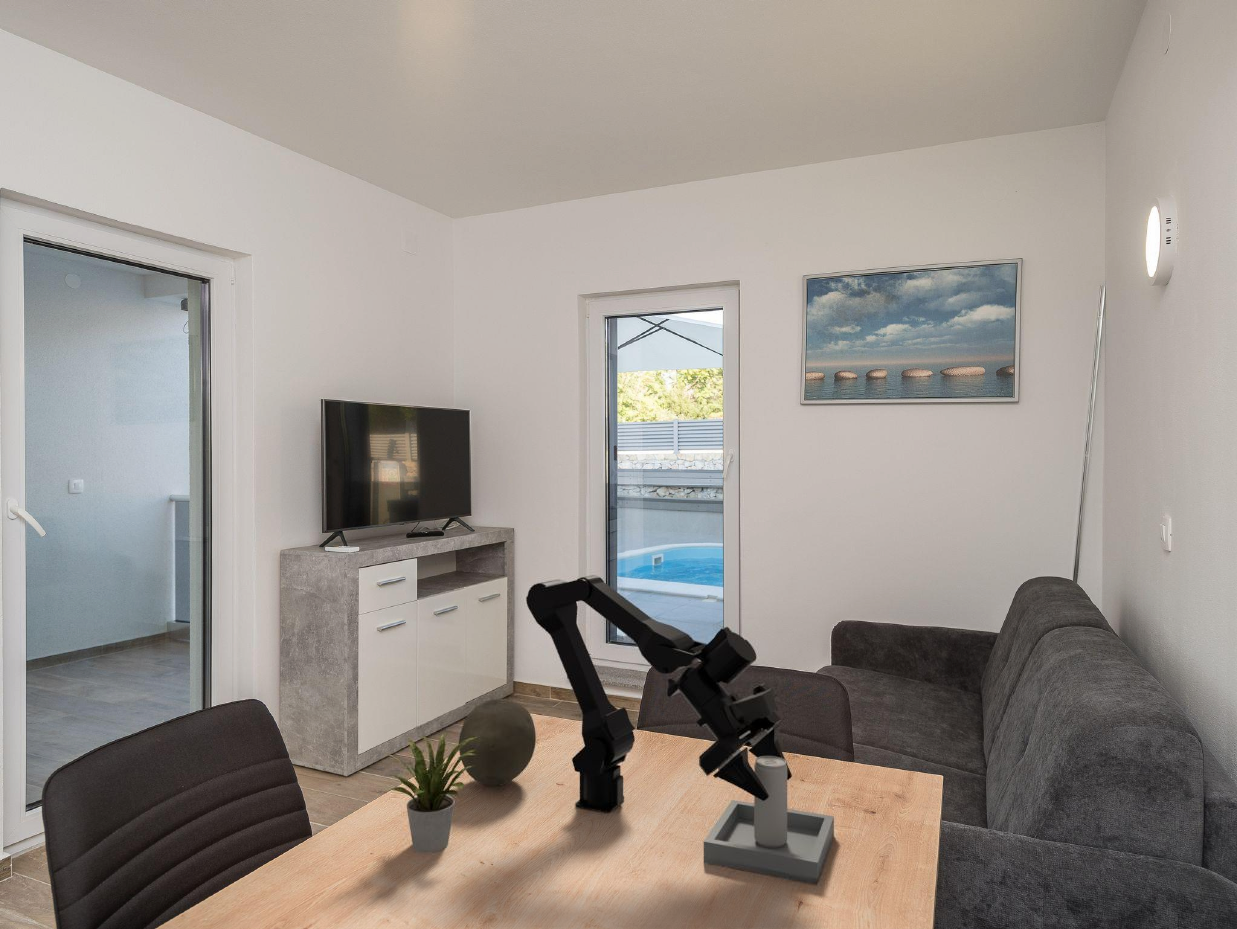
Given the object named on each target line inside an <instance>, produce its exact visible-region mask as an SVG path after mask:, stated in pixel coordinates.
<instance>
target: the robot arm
mask: <svg viewBox="0 0 1237 929" xmlns="http://www.w3.org/2000/svg"><path fill="white" fill-rule="evenodd" d="M525 599H526V600H525V601H526V605H527V608H528V610H529V612H530V614H531V615H532V618H534V620H535V622H536V623H537V624H538V625H539V626H540V628H542V629H543V630H545V632H546V633H547V634H549V636H550V638H551V640H552V642H553V645H554V648H555V650H556V652H557V654H558V658H559V660H560V662H561V664H562V667H563V669H564V671H565V674H566V676H567V679H568V681H569V684H570V687H571V689H572V691H573V694H574V696H575V699H576V701H577V704H578V706H579V709H580V711H581V715H582V717H581V718H582V722H581V737H582V741H583V748H581V749H580V750H579V751H578V752H577V753H576V754H575V755H574V756H573V757H572V758H571V762H572V766H573V769H574V771H575V772H577V773H579V799H578V801H576V802H575V804H574V806H575V807H576V808H580V809H587V810H592V811H597V812H603V813H611V812H613V811H614V810H615V809H616V808H617V807H618V806H619V805H620V804H621V803H622V802H623V801H624V800H625V796H624V776H623V775H621V769H622V768H621V765H619V764H621V763H623V762H625V761H626V757H627V756H628V754H629V753H630V752H631V751H632V749H633V747H634V743H635V741H636V740H635V739H636V738H635V734H634V732H633V731H635V730H636V727H635V726H634V725H633V724H632V722H631V721H630V717H629V714H628V711H627V709H626V707H624V706H623V707H620V708H619V709H617V708H616V707H615V706H614V705H613V704H612V703H611V702H610V701H609V698H608V696H607V694H606V691H605V688H604V686H603V684H602V682H601V679H600V677H599V674H598V672H597V669H596V667H595V665H594V662H593V660H592V657H591V654H590V653H589V651H588V650H589V649H588V648H587V646H586V644H585V641H584V639H583V636H582V634H581V631H580V628H579V627H578V603H577V602H580V601H581V602H583V603H585V604H586V605H587V606H589V607H590V608H591V609H592V610H594V611H595V612H596V613H598V614H599V615H600V616H601V617H603V618H604V619H605V620H606V621H607V622H609V623H610V624H611V625H613V626H614V627H616V629H618V630H619V631H621V632H622V633H623V634H625V635H626V636H627V637H628V638H630V639H631V640H632V641H633V643H635V644H636V646H637V647H638V650H639V652H640V654H641V656H642V657H643V658H644V659H645V661H647V663H649V665H650V666H651V667H652V668H653V669H654V670H655V671H656V672H658V673H659V674H663V675H665V674H666V675H667V674H672V673H674V672H677V671H679V670H681V669H683V668H686V667H687V668H686V669H685V670H684V671H683V672H682V673H681V674H680V675H679V676H677V675H676V676H672V677H670V678H668V679H667V682H668V687H667V692H666V695H667V697H668V698H671V697H673V696H675V695H677V694H680V693H681V694H682V696H683V698H684V699H685V700H686V701H687V703H688V704H689V705H690V706H691V707H692V709H693V710H694V712H695V713H696V715H698V717H699V719H698V720H697V721H696V724H697V725H698V726H699V727H700V728H702V727H704V726H706V728H707V729H708V730H709V731H710V733H711V734H712V735H713V737H714V738H715V739H716V741H715V742H713V743H712V745H710V746H709V747H708V748H707V749H706V750H704V752H702V753H701V754H700V755H699V756H698V766H699V767H700V769H701V770H702V772H703V773H704V774H705V775H706V777H708V776H709V775H712V773H714V772H715V771H716V772H715V773H714V774H713V778H715V779H717V778H719V779H720V780H723V781H725V782H727V783H729V784H731V785H733V786H735V787H737V788H738V789H740V790H743V791H745V792H746V793H748V794H750V795H751V796H753V797H754V796H755V797H757V798H759V799H761V800H762V801H765V800H766V799H767V798H769V795H768V793H767V791H766V789H765V788H764V786H763V784H762V783H761V781H760V780H759V778H758V777H757V775H756V773H755V772H754V769H753V768H752V766H751V764H750V762H749V753H751V754H752V755H753V756H755V757H756V758H758V757H761V756H776V757H780V758H782V759H784V760H785V761H786V765H787V781H789V780H790V779H792V777H793V775H792V772H791V770H790V768H789V765H788V763H787V760H786V758H785V756H784V753H783V751H782V748H781V745H780V743H779V734H780V733H779V732H780V729H781V725H780V724H779V722H780V721H781V720H782V719H781V718H780V716H779V715H778V714H777V713H776V712H777V711H779V710H780V708H779V706H778V703H777V699H778V697H779V695H778V693H777V692H775V691H774V690H773V688H772V687H770V686H769V685H768V684H767V683H766V682H764V683H762V684H759V685H757V686H755V687H753V689H752V694H751V695H749V696H747V697H744V698H741V697H740V696H739V694H737V693H735V692H732V693H730V694H729V692H727V690H726V689H725V688H724V687H723V685H722V684H721V683H724V684H728V685H729V684H732V683H733V682H734V681H735V680H736V679H737V678H738V677H739V676H740V675H741V674H742V673H744V672H745V671H746V670H747V669H748V668H749V667H750V666H751V665H752V664H753V663H754V662H755V661H756V660H757V654H756V650H755V648H754V647H753V645H751V643H750V642H749V641H748V640H747V639H745V638H743V636H741V635H740V634H738V633H736V632H734V631H732V630H731V629H730V628H729V627H728V626H726V627H722V628H720V629H719V630H718V631H717V632H716V633H715V635H714V637H713V638H712V639H711V640H710V641H709V642H708V643H705V642H702V641H698V640H694V639H693V637H691V636H690V635H689V633H687V632H684V631H683V630H680V629H679V628H677V627H674V626H673V625H670V624H667V623H664V622H660V621H657V620H656V619H653V617H650V615H648V614H646V613H645V612H644V611H642V609H640V608H639V607H637V606H636V605H635V604H634V603H633V602H631V601H629V600H628V599H627V598H625V597H624V596H623V595H622V594H621V593H619V592H618V591H616V590H615V589H614V588H612V587H611V586H610V585H608V584H607V583H606V582H605V581H604V580H603V578H602V577H601V576H598V575H595V574H593V575H588V576H587V575H586V576H582V577H579V578H577V579H575V580H571V581H566V580H563V579H553V580H549V581H544V582H537V583H535V584H533V585H532V586H531V587H529V590H528V592H527V595H526V597H525ZM699 661H700V663H699V664H698V665H697V666H696V667H692V666H691V665H692V664H695V663H697V662H699ZM688 666H689V667H688ZM690 666H691V667H690ZM777 724H778V725H777ZM744 745H745V746H746V747H745V748H744V749H742V750H741V748H743V746H744ZM751 746H752V747H751ZM748 747H751V748H749V749H748ZM717 769H718V771H717Z"/></svg>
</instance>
